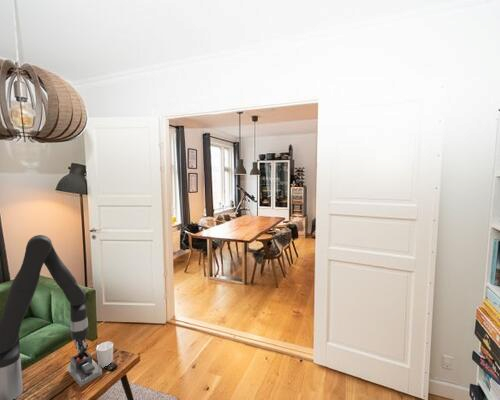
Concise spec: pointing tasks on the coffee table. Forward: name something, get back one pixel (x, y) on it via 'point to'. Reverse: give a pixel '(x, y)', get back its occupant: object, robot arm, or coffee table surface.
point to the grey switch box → (78, 373)
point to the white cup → (104, 353)
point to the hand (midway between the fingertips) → (81, 357)
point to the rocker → (88, 367)
